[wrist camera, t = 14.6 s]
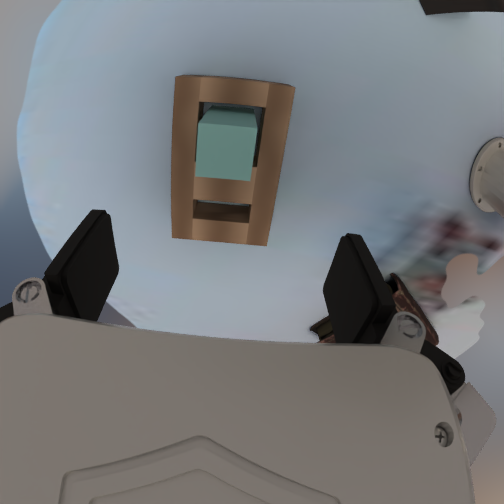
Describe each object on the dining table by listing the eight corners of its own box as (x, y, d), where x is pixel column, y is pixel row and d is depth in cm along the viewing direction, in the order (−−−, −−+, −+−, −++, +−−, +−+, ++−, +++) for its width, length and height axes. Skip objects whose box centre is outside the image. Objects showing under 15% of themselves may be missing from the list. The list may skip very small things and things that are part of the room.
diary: (392, 267, 43) (405, 288, 39) (433, 326, 54) (441, 343, 50) (305, 327, 50) (309, 350, 46) (366, 367, 61) (371, 385, 57)
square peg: (253, 108, 28) (257, 128, 20) (248, 146, 31) (250, 181, 23) (212, 105, 28) (198, 123, 20) (208, 143, 30) (195, 176, 22)
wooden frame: (289, 84, 27) (295, 87, 23) (264, 227, 37) (266, 246, 34) (183, 74, 26) (175, 76, 22) (178, 220, 36) (172, 237, 33)
